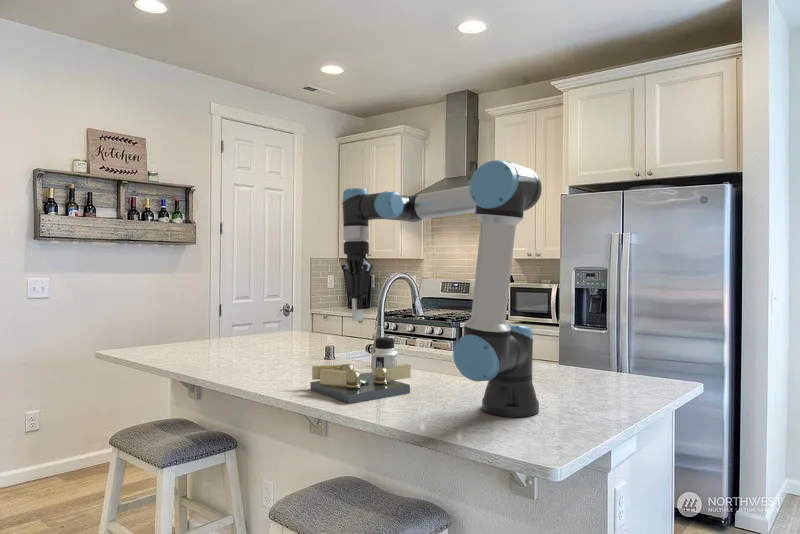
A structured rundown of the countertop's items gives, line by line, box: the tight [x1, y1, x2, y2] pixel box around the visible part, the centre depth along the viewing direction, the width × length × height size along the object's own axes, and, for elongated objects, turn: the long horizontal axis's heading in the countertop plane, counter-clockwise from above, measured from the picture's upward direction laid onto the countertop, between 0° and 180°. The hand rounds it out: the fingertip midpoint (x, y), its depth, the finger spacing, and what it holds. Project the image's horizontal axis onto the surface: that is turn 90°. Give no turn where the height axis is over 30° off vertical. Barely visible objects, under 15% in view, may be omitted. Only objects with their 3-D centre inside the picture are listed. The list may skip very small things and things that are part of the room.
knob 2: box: [373, 363, 412, 384], centre depth 182 cm, size 13×4×4 cm, turn 128°
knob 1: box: [319, 369, 361, 389], centre depth 175 cm, size 13×4×4 cm, turn 65°
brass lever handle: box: [311, 363, 355, 381], centre depth 184 cm, size 13×4×4 cm, turn 101°
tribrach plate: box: [309, 373, 411, 405], centre depth 179 cm, size 22×22×3 cm
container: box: [371, 336, 399, 375], centre depth 206 cm, size 8×8×13 cm
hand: (357, 320), depth 174 cm, fingers closed
